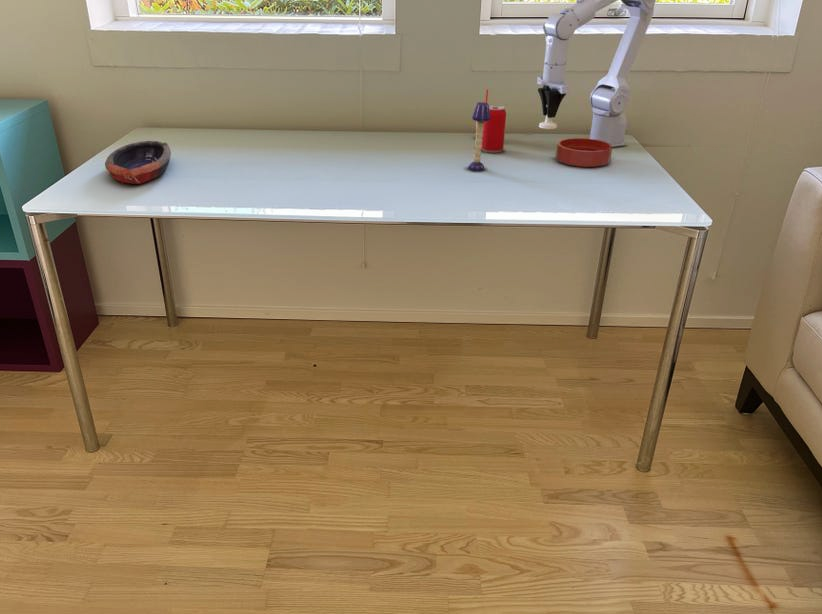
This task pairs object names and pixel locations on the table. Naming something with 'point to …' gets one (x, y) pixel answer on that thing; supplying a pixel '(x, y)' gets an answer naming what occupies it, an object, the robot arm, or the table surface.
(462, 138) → the table surface
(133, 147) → the dish
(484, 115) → the toy lamp
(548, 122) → the chess piece
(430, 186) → the table surface
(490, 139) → the beverage can
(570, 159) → the bowl
